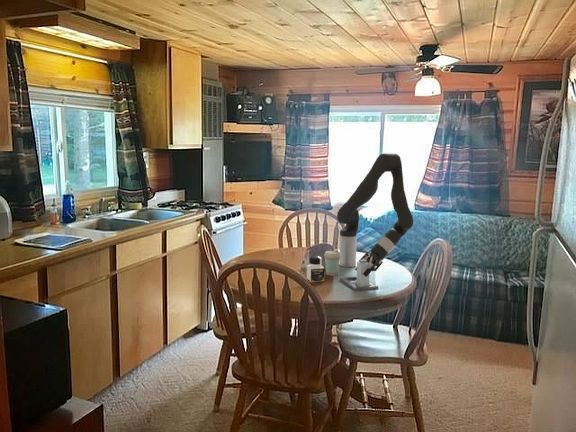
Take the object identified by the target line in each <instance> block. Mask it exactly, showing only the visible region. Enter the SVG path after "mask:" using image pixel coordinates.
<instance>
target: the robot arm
mask: <svg viewBox="0 0 576 432" xmlns="http://www.w3.org/2000/svg"><path fill="white" fill-rule="evenodd" d="M402 166H403V164H402V159H401V157H400V155H399V154H398V153H394V152H383V153H381V154H379V156H377V157H376V159H375V161H374V162H373V165H372V166H371V168H370V170H369V171H368V173H367V174H366V175H365V177H364V178H363V180H362V181H361V182H360V183H359V185H358V186H357V188H356V189H355V190H354V192H353V193H352V194H351V195H350V197H349V198H348V200H347V201H345V203H344V204H343V205H342V206H341V207H340V208H339V209H338V211H337V213H336V214H337V215H336V219H337V221H338V223H340V224H343V225H345V226H344V227H343V228H341V229H340V231H339V253H340V259H339V266H340V267H345V268H353V267H355V268H354V270H355V271H356V272H357V261H356V260H357V233H358V230H359V221H360V213H359V209H358V208H360V207H362V206H363V205H365V204H367V203H368V202H369V201H370V200H371V199H373V197H374V195H375V194H376V193H377V191H378V188H379V180H380V178H381V177H382V176H383V175H384V174H385V173H386V172H390V173H391V176H392V187H391V192H390V199H391V202H392V207H393V209H394V212H395V213H396V217H397V221H396V222H395V223H394V224H393V225H392V227H391V228H390V229H388V231H386V232H385V234H384V235H383V236H382V237H381V238H379V240H378V241H377V242H376V243H375V244H374V245H373V246H372V248H371V249H370V252H371V253H368V252H366V253H364V255H363V256H362V257H361V258H360V259H358V262H360V260H367V262H368V263H369V268H367V270H366V271H365V272H364V273H363V275H364V276H365V277H367V276H368V275H369V276H370V273H372V272H376V271H378V269H379V268H380V267H381V265H382V264H383V263H384V262H383V261H384V259H385V258H386V257H387V256H388V255H389V254H390V252H391V251H392V250H393V249H394V248H395V246H396V245H397V244H398V243H399V242H400V241H401V239H402V238H403V236H405V234H406V233H408V231H410V229H412V227H413V226H414V217H413V214H412V211H411V210H410V208H409V204H408V199H407V196H406V192H405V186H404V175H403V167H402Z"/></svg>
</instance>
